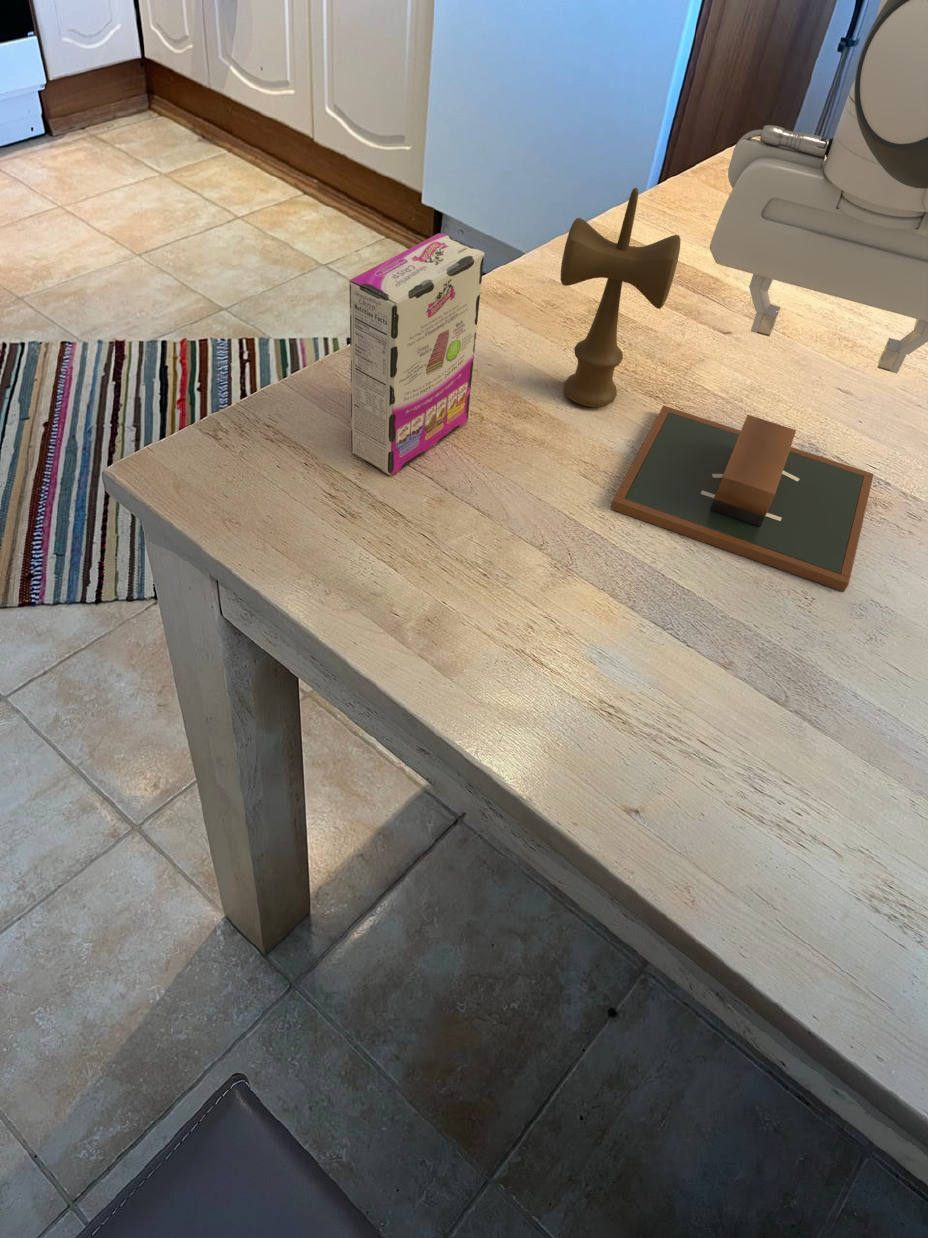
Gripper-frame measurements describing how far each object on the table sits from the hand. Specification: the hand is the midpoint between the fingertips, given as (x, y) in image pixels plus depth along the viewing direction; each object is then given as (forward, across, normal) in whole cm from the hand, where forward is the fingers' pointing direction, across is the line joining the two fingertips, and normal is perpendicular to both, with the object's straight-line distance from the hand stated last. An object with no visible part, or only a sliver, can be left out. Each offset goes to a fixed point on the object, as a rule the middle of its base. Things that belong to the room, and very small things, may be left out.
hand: (823, 348), depth 70 cm
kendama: (+16, -19, +9) cm, 26 cm away
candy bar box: (+16, -30, -6) cm, 35 cm away
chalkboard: (+16, -2, +2) cm, 16 cm away
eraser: (+15, -2, +2) cm, 15 cm away
